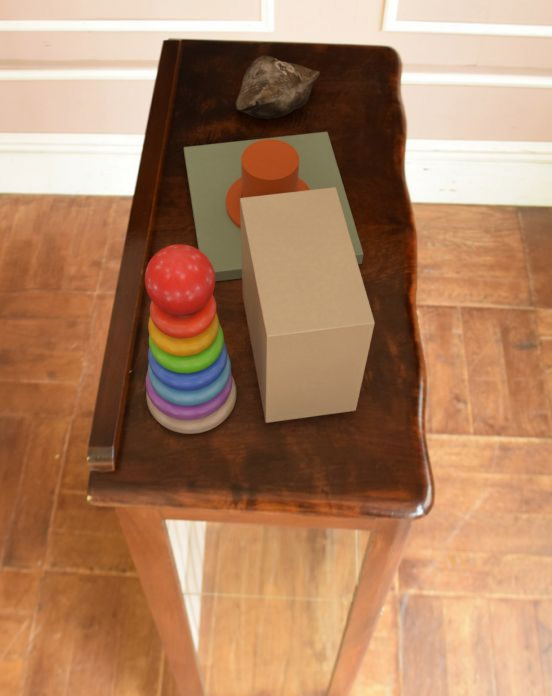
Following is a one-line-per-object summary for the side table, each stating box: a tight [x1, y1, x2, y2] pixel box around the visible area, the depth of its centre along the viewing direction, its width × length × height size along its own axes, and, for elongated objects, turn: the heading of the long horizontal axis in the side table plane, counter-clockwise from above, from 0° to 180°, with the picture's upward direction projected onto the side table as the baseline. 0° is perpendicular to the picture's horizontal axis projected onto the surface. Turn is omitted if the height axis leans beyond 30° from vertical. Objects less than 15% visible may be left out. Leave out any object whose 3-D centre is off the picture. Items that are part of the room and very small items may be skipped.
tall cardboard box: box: [240, 187, 376, 424], centre depth 66 cm, size 8×14×14 cm, turn 9°
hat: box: [226, 139, 310, 229], centre depth 77 cm, size 9×9×6 cm
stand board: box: [183, 131, 364, 282], centre depth 81 cm, size 16×18×2 cm
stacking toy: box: [144, 243, 238, 435], centre depth 62 cm, size 8×8×19 cm
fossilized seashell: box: [234, 55, 321, 120], centre depth 88 cm, size 8×7×10 cm
